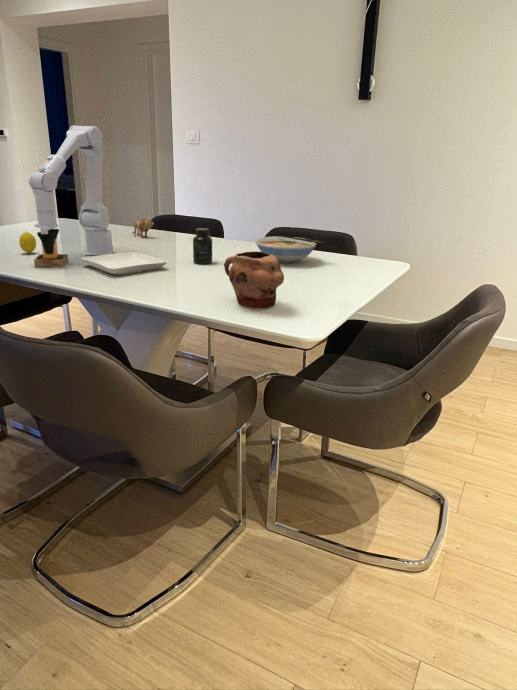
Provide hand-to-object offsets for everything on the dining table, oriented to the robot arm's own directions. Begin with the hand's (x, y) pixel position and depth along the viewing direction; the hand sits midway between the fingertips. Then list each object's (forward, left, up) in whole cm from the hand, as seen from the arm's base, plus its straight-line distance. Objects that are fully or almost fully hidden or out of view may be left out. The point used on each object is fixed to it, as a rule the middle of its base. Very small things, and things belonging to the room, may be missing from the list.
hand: (50, 252), depth 172 cm
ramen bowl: (-82, -3, -4) cm, 82 cm away
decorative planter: (-59, +51, -4) cm, 78 cm away
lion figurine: (-29, -56, -4) cm, 63 cm away
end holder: (0, 0, -4) cm, 4 cm away
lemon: (+11, -18, -4) cm, 21 cm away
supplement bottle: (-51, -1, -4) cm, 51 cm away
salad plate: (-24, +6, -5) cm, 25 cm away
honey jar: (0, 0, -2) cm, 2 cm away
